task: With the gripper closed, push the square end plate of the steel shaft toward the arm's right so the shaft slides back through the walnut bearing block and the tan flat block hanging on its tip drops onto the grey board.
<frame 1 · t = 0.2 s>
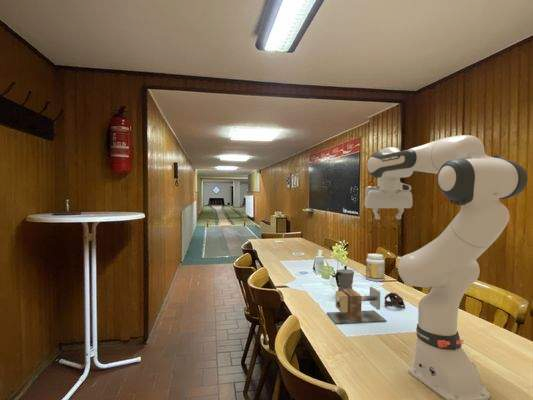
hand: (388, 219, 130), 47 cm above the table, tool pointing down, fingers open, 8 cm apart
bearing block: (351, 318, 143), on the table
tan flat block: (341, 301, 142), point 8 cm above the table, touching shaft
supplement tub: (375, 279, 210), on the table
coffeepot: (344, 298, 171), on the table
shaft: (356, 298, 143), point 9 cm above the table, slide at 0.0 cm, touching tan flat block
dark openwork dome: (394, 307, 158), on the table
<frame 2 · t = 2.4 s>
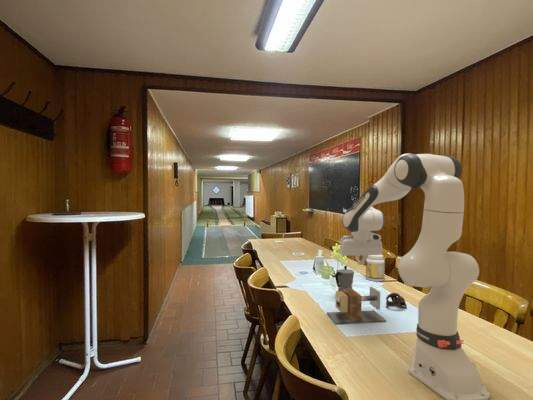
hand: (360, 264, 146), 24 cm above the table, tool pointing down, fingers closed
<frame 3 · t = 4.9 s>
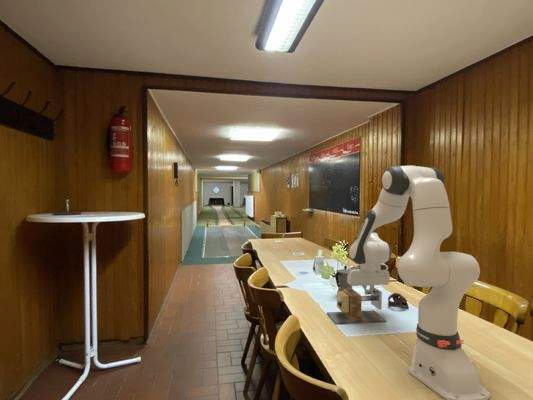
hand: (368, 294, 147), 10 cm above the table, tool pointing down, fingers closed
shaft: (357, 298, 143), point 9 cm above the table, slide at 0.7 cm, touching tan flat block, gripper
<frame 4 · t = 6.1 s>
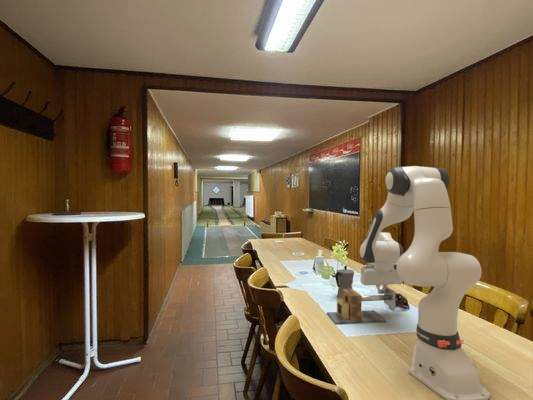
hand: (381, 293, 148), 10 cm above the table, tool pointing down, fingers closed
tan flat block: (342, 308, 142), point 4 cm above the table, touching bearing block
shaft: (371, 298, 144), point 9 cm above the table, slide at 7.4 cm, touching gripper
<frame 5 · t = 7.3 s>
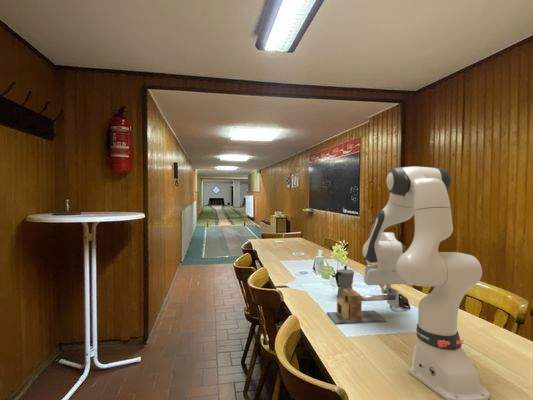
hand: (384, 293, 148), 10 cm above the table, tool pointing down, fingers closed
shaft: (374, 298, 144), point 9 cm above the table, slide at 9.0 cm, touching gripper
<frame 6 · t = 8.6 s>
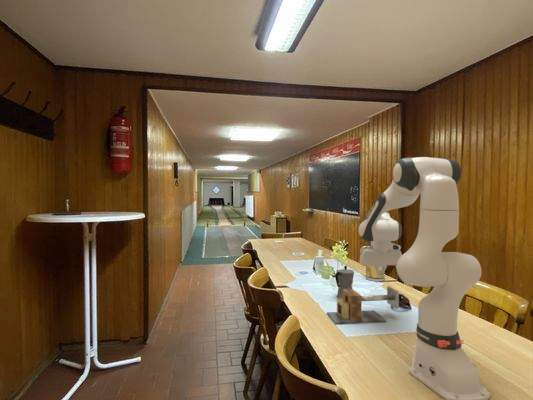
hand: (380, 274, 147), 19 cm above the table, tool pointing down, fingers closed
shaft: (374, 298, 144), point 9 cm above the table, slide at 9.0 cm
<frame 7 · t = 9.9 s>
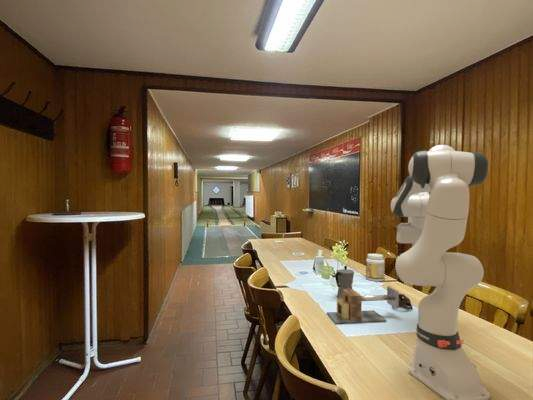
hand: (418, 252, 141), 31 cm above the table, tool pointing down, fingers closed
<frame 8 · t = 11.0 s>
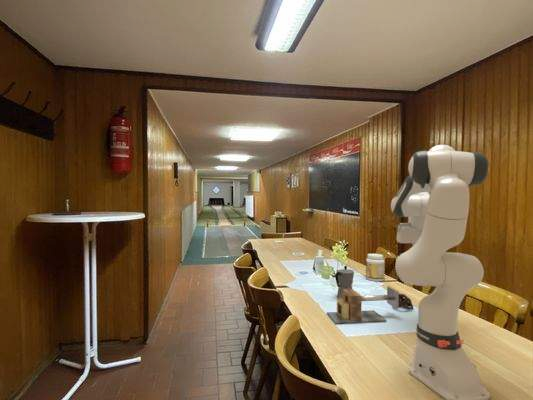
hand: (418, 252, 141), 31 cm above the table, tool pointing down, fingers closed
at the end: shaft slide at 9.0 cm; tan flat block point 4.5 cm above the table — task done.
